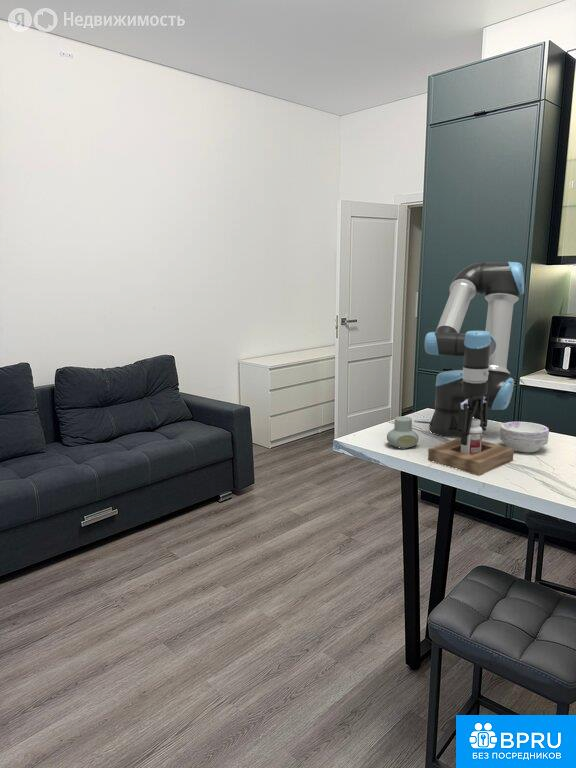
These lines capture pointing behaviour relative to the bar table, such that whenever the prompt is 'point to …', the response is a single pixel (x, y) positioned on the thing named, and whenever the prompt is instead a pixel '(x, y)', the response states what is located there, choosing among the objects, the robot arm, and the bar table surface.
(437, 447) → the walnut holder
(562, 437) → the bar table surface
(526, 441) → the paper bowls
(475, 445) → the pill bottle
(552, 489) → the bar table surface
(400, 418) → the air freshener
